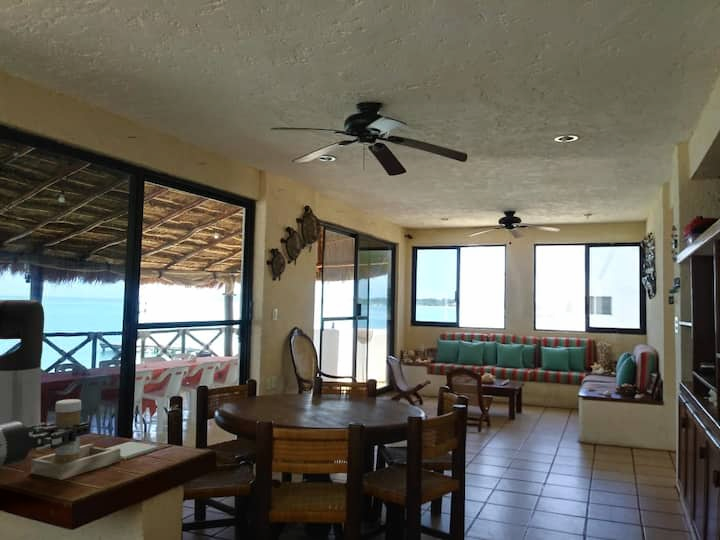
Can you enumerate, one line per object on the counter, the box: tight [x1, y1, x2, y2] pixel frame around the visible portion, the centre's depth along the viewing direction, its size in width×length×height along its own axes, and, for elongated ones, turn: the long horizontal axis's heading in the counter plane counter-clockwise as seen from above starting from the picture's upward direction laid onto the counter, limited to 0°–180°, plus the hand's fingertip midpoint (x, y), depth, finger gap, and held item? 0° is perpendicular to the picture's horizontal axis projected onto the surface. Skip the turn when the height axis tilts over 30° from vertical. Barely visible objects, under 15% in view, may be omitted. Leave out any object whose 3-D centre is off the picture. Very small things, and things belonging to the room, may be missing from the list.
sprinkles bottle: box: [54, 398, 82, 464], centre depth 112 cm, size 5×5×13 cm
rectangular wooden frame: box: [30, 443, 121, 481], centre depth 114 cm, size 13×9×2 cm
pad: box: [105, 441, 159, 460], centre depth 124 cm, size 9×9×1 cm
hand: (80, 426), depth 115 cm, fingers closed on sprinkles bottle, 4 cm apart
